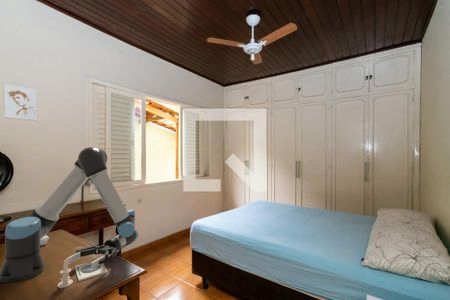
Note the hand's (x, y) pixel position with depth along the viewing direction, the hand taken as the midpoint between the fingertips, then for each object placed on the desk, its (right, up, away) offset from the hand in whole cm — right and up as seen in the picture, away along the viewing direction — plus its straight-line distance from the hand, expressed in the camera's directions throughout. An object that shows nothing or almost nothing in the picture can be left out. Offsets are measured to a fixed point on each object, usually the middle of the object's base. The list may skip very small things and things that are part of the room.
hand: (79, 263), depth 98 cm
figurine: (-44, -6, +33) cm, 55 cm away
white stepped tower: (-2, -6, -5) cm, 8 cm away
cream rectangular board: (+2, -6, +6) cm, 8 cm away
